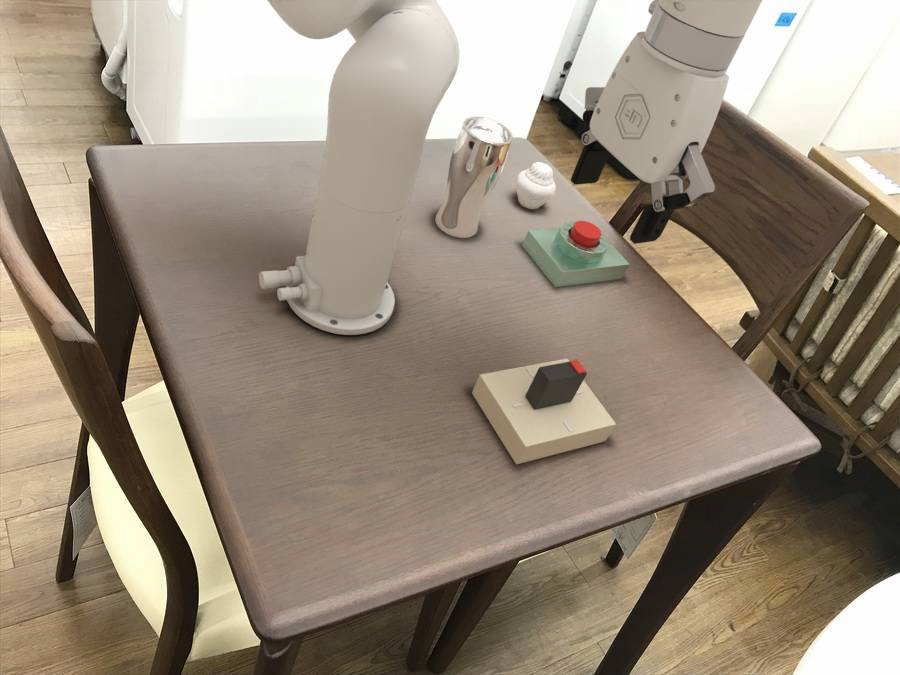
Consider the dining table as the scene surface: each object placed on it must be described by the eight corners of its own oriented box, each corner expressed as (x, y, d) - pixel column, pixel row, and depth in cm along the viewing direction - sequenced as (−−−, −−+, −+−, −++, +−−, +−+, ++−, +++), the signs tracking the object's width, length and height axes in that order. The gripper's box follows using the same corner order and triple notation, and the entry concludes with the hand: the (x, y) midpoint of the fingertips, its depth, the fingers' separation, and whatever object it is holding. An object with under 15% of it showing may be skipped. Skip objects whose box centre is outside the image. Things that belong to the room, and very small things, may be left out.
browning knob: (534, 410, 80) (550, 379, 77) (524, 396, 81) (540, 365, 78) (571, 401, 83) (588, 371, 80) (561, 388, 84) (578, 358, 81)
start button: (579, 249, 103) (584, 239, 102) (564, 231, 106) (568, 221, 105) (602, 247, 105) (607, 237, 104) (586, 229, 108) (591, 219, 107)
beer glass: (475, 246, 104) (510, 151, 95) (426, 229, 104) (457, 132, 94) (483, 220, 110) (517, 127, 100) (437, 204, 110) (467, 109, 100)
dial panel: (516, 464, 78) (526, 445, 76) (471, 392, 84) (479, 373, 82) (605, 441, 84) (617, 423, 82) (558, 375, 90) (567, 357, 88)
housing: (554, 287, 103) (567, 261, 100) (521, 245, 108) (532, 219, 105) (621, 279, 109) (635, 254, 106) (587, 239, 114) (599, 215, 111)
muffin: (501, 197, 116) (516, 157, 111) (525, 187, 120) (540, 148, 115) (532, 219, 114) (548, 180, 109) (555, 209, 118) (572, 170, 113)
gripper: (596, -8, 66) (533, 163, 78) (732, 91, 57) (638, 270, 68) (657, -3, 70) (589, 160, 81) (795, 90, 60) (696, 260, 72)
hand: (611, 210), depth 75 cm, fingers open, 9 cm apart
